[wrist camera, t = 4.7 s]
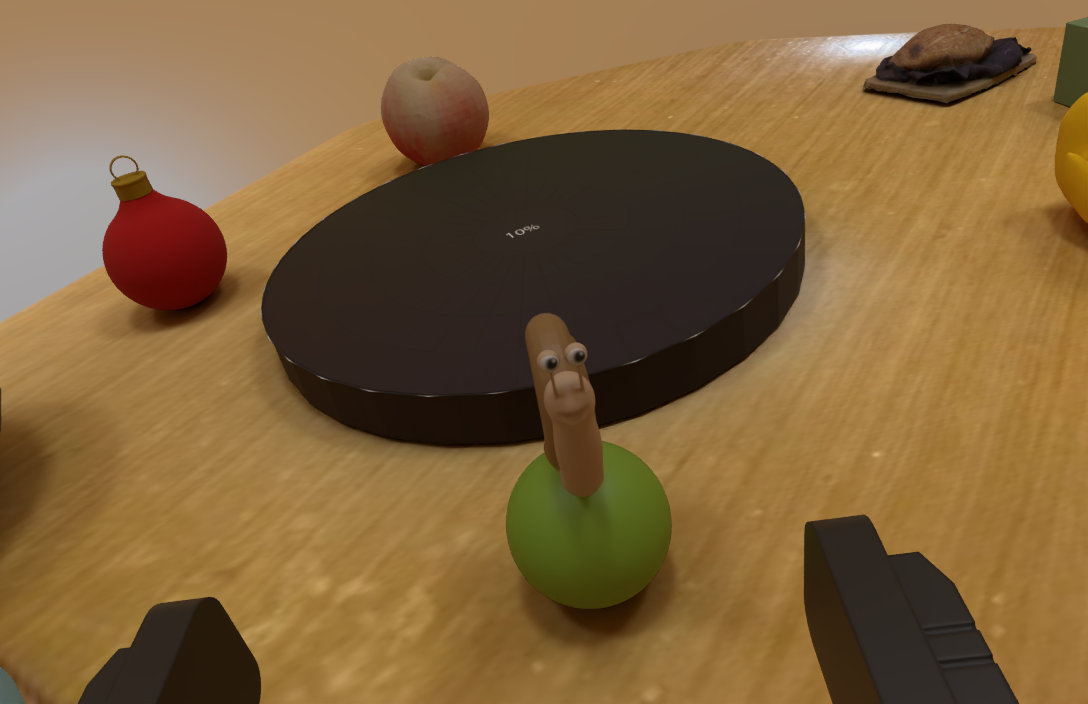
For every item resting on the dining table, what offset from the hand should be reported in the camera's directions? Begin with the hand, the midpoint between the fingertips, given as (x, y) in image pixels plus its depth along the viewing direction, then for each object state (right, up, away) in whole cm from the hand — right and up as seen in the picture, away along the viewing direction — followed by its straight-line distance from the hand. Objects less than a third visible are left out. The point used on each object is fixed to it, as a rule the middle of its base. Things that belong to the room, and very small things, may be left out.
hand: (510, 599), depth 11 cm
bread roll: (+31, +24, +49) cm, 63 cm away
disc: (0, +8, +36) cm, 37 cm away
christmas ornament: (-23, +7, +42) cm, 48 cm away
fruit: (-7, +19, +54) cm, 58 cm away
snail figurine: (+3, -5, +17) cm, 18 cm away
